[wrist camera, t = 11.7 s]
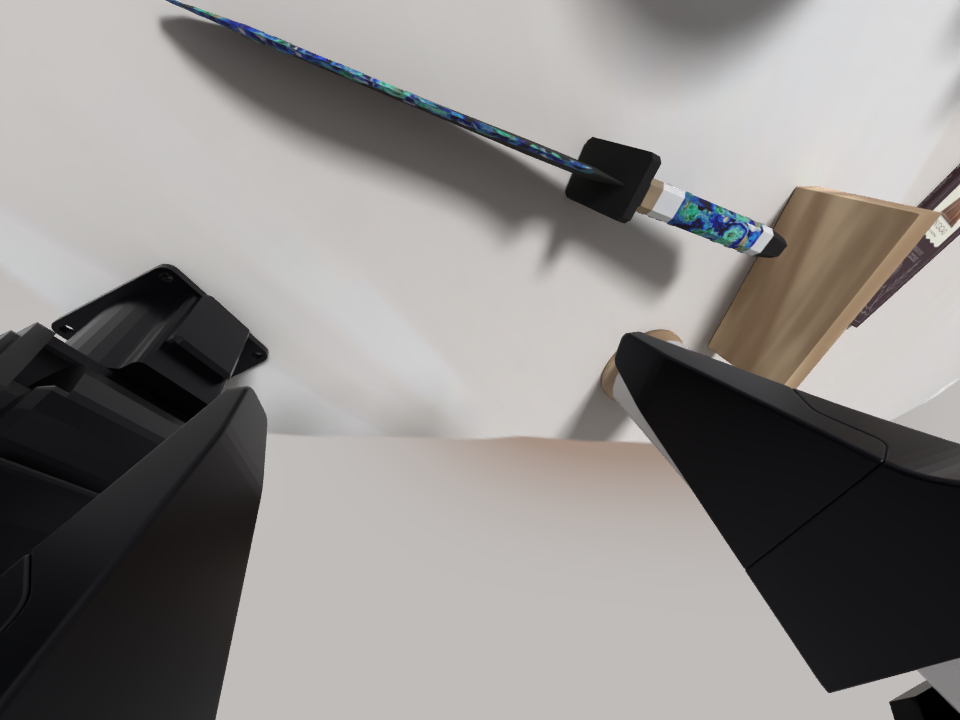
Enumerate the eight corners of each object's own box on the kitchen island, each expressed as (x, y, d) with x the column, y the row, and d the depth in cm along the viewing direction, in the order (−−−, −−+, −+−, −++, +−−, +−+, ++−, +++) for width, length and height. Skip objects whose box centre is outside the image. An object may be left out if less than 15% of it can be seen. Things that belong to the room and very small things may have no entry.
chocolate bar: (821, 310, 34) (1035, 99, 25) (811, 306, 34) (1016, 98, 25) (856, 327, 38) (1051, 150, 29) (847, 323, 38) (1034, 149, 29)
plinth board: (707, 346, 33) (775, 396, 27) (796, 187, 24) (920, 213, 19) (723, 344, 33) (793, 392, 28) (817, 186, 25) (942, 212, 19)
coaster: (606, 409, 34) (609, 413, 34) (596, 356, 29) (599, 360, 29) (678, 374, 34) (681, 377, 34) (681, 314, 29) (685, 317, 28)
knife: (740, 220, 23) (803, 239, 19) (709, 262, 24) (762, 287, 21) (187, -86, 12) (94, -174, 8) (191, 24, 13) (113, -11, 10)
